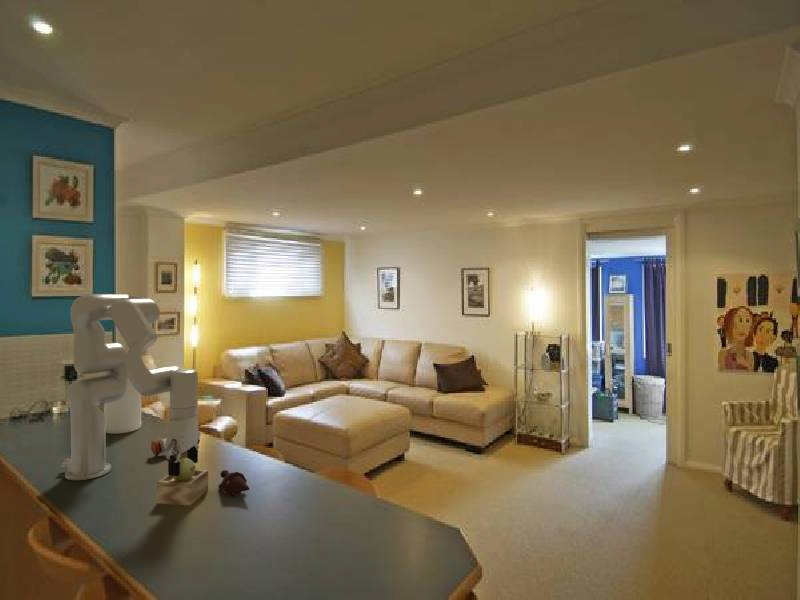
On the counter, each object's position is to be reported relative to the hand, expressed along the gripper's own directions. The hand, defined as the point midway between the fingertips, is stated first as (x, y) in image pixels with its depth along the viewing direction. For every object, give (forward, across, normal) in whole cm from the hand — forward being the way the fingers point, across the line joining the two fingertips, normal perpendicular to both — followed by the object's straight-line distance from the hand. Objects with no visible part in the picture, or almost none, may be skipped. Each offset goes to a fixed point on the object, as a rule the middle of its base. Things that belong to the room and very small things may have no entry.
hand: (183, 468), depth 136 cm
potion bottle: (+8, -34, -23) cm, 42 cm away
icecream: (+9, -3, +14) cm, 17 cm away
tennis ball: (+3, 0, 0) cm, 3 cm away
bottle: (+8, -57, -61) cm, 84 cm away
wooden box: (+8, 0, 0) cm, 8 cm away
